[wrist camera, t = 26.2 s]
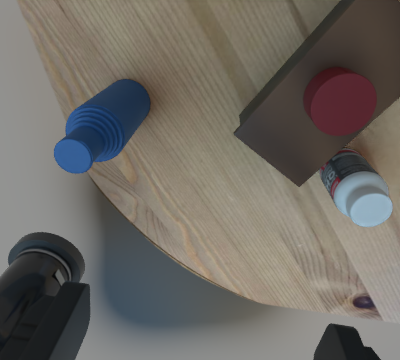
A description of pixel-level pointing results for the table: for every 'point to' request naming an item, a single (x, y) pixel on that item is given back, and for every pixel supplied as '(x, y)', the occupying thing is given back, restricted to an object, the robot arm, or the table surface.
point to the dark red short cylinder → (339, 101)
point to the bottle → (102, 126)
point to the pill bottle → (356, 188)
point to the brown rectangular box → (307, 69)
